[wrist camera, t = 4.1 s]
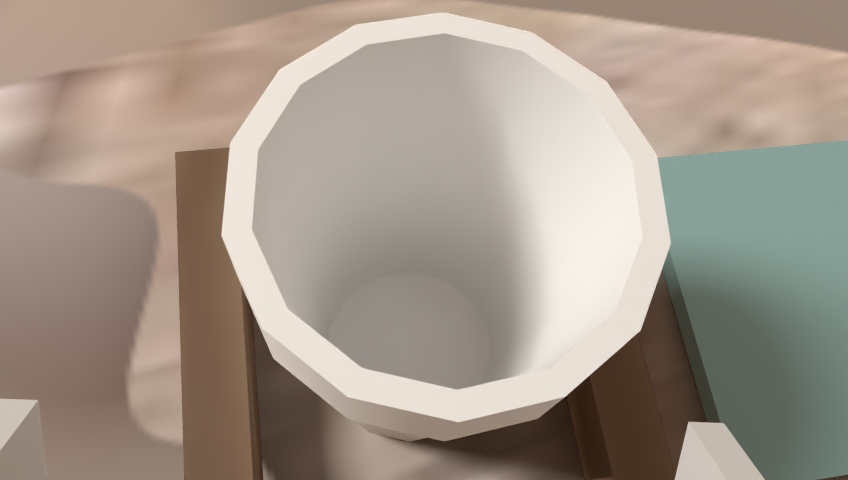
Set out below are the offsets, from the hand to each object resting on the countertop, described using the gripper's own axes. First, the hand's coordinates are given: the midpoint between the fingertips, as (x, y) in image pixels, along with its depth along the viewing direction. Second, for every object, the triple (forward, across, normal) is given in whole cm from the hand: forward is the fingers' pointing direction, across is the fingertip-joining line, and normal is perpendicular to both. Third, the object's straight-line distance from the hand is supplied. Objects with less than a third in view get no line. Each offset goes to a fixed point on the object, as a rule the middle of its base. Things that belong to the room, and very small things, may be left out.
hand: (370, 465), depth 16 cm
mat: (+13, +18, -2) cm, 23 cm away
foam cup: (+12, +2, -4) cm, 12 cm away
